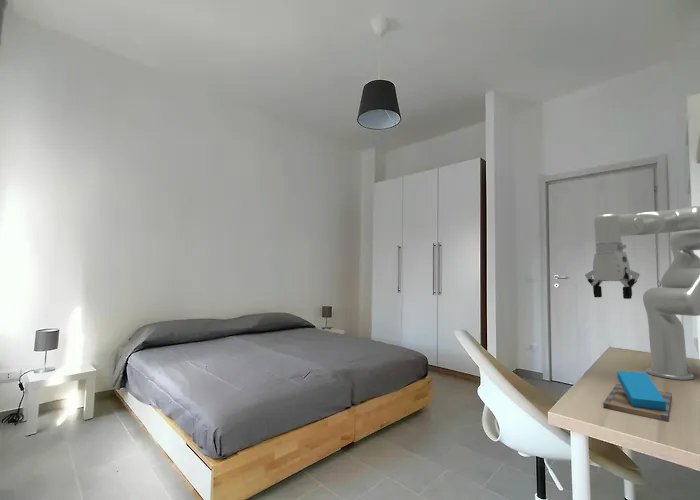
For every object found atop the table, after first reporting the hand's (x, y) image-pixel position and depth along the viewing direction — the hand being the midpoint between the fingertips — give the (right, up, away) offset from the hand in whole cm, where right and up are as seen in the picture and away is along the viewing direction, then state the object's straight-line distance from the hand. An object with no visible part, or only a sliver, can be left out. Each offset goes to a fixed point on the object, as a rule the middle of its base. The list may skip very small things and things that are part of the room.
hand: (612, 297), depth 120 cm
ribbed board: (-9, -27, -22) cm, 36 cm away
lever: (-10, -26, -22) cm, 35 cm away
